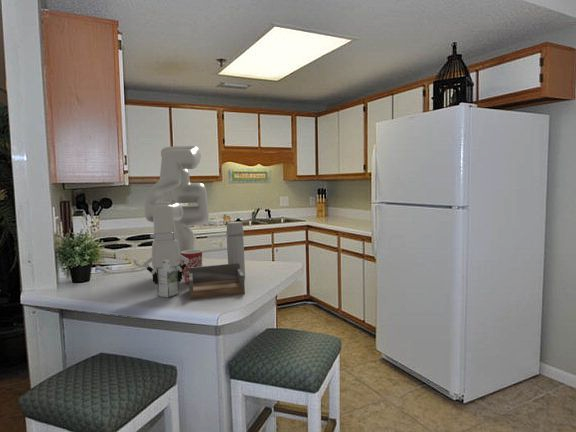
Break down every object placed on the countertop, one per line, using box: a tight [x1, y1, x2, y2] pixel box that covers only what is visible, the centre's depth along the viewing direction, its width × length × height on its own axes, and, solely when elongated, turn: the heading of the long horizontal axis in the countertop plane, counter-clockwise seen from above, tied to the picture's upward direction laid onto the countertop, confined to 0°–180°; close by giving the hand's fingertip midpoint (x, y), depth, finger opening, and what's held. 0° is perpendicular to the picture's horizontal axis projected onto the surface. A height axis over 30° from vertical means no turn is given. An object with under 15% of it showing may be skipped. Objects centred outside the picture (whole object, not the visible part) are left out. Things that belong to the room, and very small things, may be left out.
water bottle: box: [225, 221, 246, 281], centre depth 169 cm, size 9×8×25 cm
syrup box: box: [156, 260, 180, 298], centre depth 149 cm, size 6×6×14 cm
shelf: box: [188, 263, 246, 300], centre depth 152 cm, size 14×20×9 cm
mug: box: [180, 249, 203, 285], centre depth 169 cm, size 13×9×14 cm
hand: (167, 282), depth 149 cm, fingers closed on syrup box, 8 cm apart
